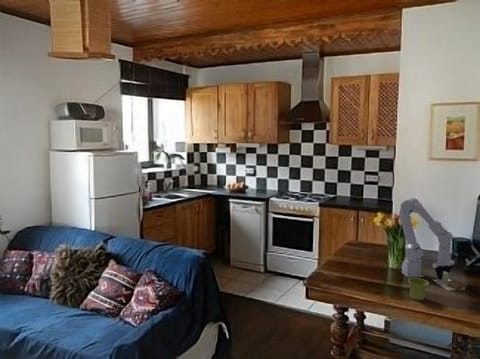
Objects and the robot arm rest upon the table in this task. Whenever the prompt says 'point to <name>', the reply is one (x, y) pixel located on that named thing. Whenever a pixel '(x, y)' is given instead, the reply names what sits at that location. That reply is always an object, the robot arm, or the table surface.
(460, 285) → the walnut block
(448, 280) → the board
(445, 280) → the sage block
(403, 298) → the table surface
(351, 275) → the table surface
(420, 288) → the plant pot
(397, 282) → the table surface
